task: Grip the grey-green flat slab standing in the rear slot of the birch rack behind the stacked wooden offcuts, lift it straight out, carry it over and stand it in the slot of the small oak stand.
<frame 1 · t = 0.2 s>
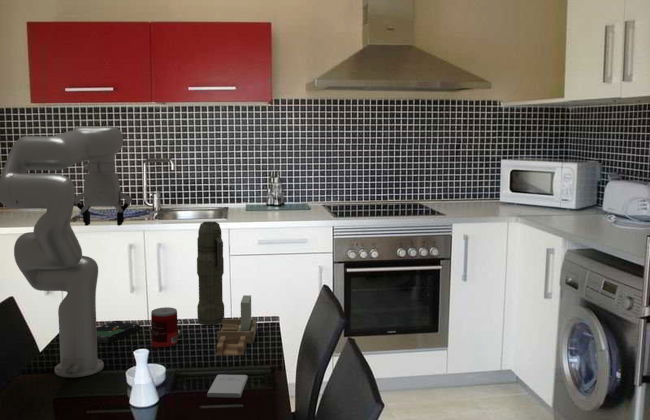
hand: (103, 224, 196), 37 cm above the table, tool pointing down, fingers open, 9 cm apart
offcut b: (228, 332, 200), point 3 cm above the table, touching offcut a
grey-green flat slab: (246, 336, 204), point 1 cm above the table, touching rack
canned food: (164, 346, 197), on the table
external hard drive: (228, 390, 165), on the table
rack: (237, 339, 204), on the table
offcut c: (231, 333, 207), point 1 cm above the table, touching rack
disk drive: (112, 336, 207), on the table
offcut a: (228, 339, 201), point 1 cm above the table, touching offcut b, rack
stand: (231, 352, 191), on the table
thermos: (211, 325, 219), on the table
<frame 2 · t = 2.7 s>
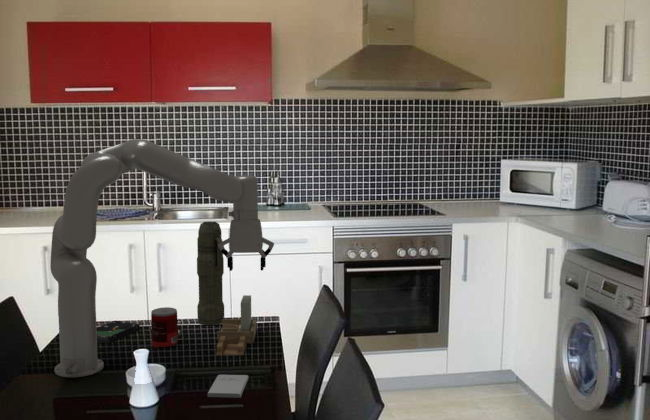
hand: (246, 269, 201), 22 cm above the table, tool pointing down, fingers open, 9 cm apart
nothing on the table moved.
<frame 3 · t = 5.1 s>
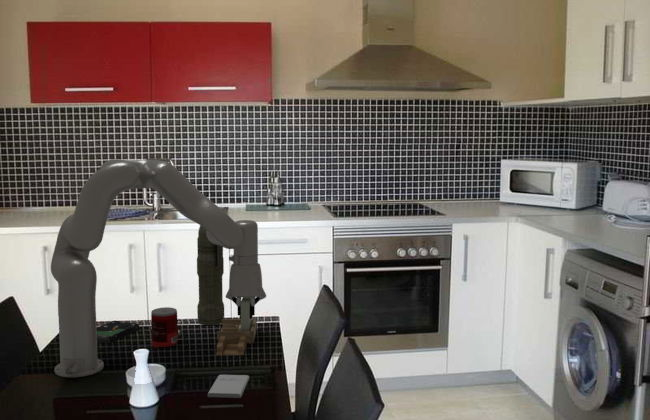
hand: (246, 317, 203), 7 cm above the table, tool pointing down, fingers closed on grey-green flat slab, 2 cm apart
grey-green flat slab: (246, 336, 204), point 1 cm above the table, touching gripper, rack
everything else where it was.
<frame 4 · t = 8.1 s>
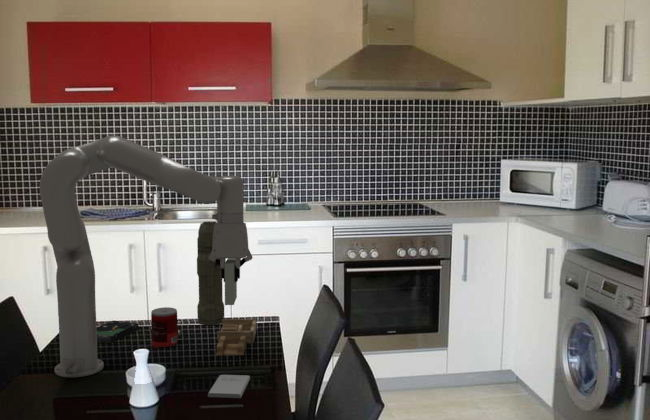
hand: (230, 280, 189), 22 cm above the table, tool pointing down, fingers closed on grey-green flat slab, 2 cm apart
grey-green flat slab: (230, 301, 190), point 16 cm above the table, touching gripper
everything else where it was.
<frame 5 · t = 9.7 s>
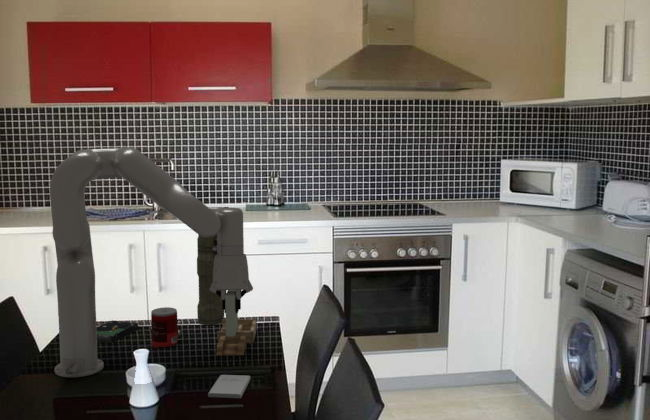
hand: (231, 311, 190), 13 cm above the table, tool pointing down, fingers closed on grey-green flat slab, 2 cm apart
grey-green flat slab: (232, 331, 191), point 6 cm above the table, touching gripper
everything else where it was.
when the fingers open (8 cm above the table, at t = 11.2 s): grey-green flat slab stays where it is, resting on stand.
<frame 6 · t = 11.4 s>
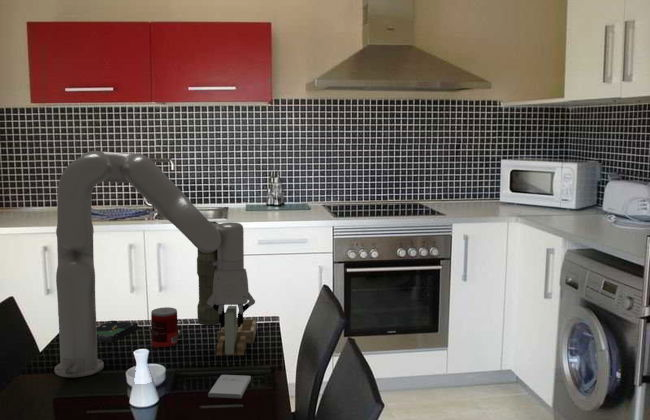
hand: (231, 325, 190), 8 cm above the table, tool pointing down, fingers open, 4 cm apart
grey-green flat slab: (231, 349, 191), point 1 cm above the table, touching stand
everything else where it was.
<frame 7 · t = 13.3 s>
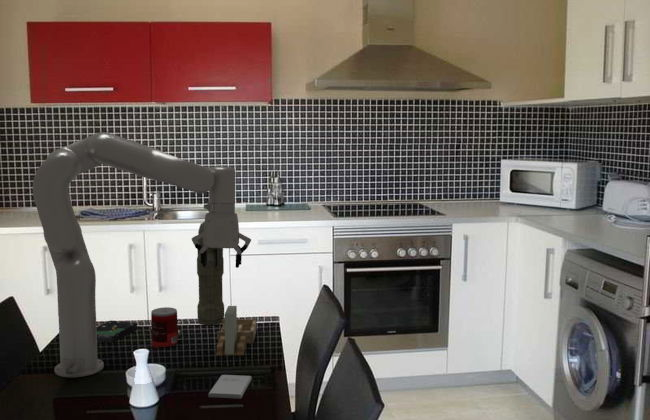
hand: (221, 266, 190), 26 cm above the table, tool pointing down, fingers open, 9 cm apart
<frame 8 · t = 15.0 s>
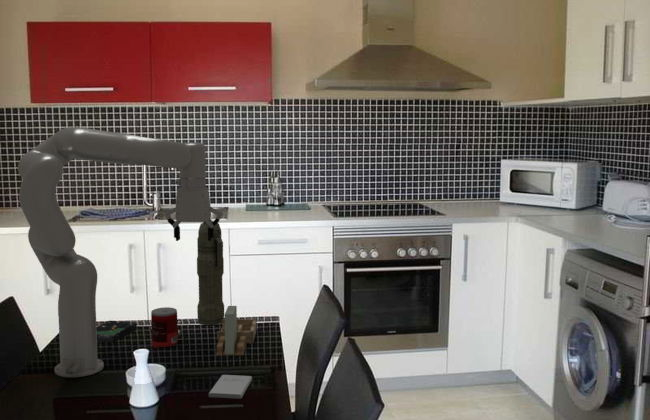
hand: (193, 240, 196), 32 cm above the table, tool pointing down, fingers open, 9 cm apart
at the end: grey-green flat slab 0.1 cm off-centre on the stand, point 1.0 cm above the stand's base; grey-green flat slab tilted 0°; the gripper is holding nothing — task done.
